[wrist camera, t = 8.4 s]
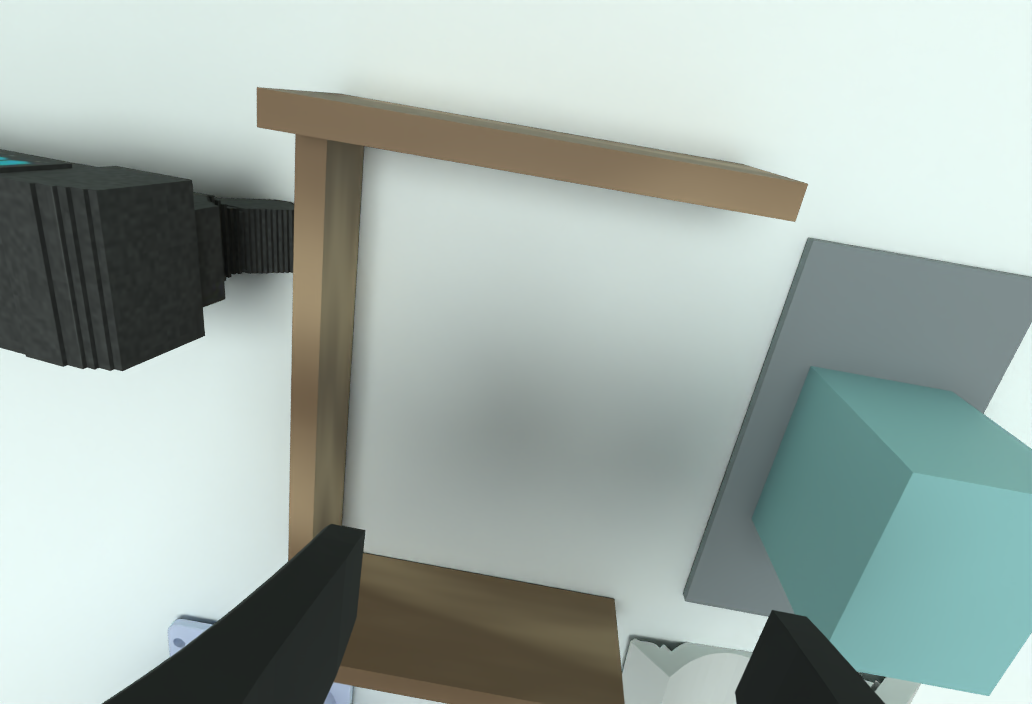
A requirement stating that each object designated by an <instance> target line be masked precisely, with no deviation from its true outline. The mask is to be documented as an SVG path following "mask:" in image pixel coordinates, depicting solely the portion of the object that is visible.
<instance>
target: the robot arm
mask: <svg viewBox="0 0 1032 704" xmlns="http://www.w3.org/2000/svg"><path fill="white" fill-rule="evenodd" d="M364 538H365V530H361V529H356V528H351V527H346V526H340V525H335V524H330V525H328V526H326V527H325V528H324V529H323V530H321V531H320V532H319V533H318V534H317V535H316V536H315V537H314V538H313V539H312V540H311V541H310V542H309V543H308V544H307V545H306V546H305V547H304V548H303V549H301V550H300V551H299V552H298V553H297V554H296V555H295V556H294V557H293V558H292V559H291V560H290V561H288V562H287V563H286V564H285V565H284V566H283V567H282V568H281V569H279V570H278V571H277V572H276V573H275V574H274V575H273V576H272V577H270V578H269V579H268V580H267V581H266V582H265V583H263V584H262V585H261V586H260V587H259V588H257V589H256V590H255V591H254V592H253V593H252V594H250V595H249V596H248V597H247V598H246V599H244V600H243V601H242V602H241V603H240V604H239V605H237V606H236V607H235V608H234V609H232V610H231V611H230V612H229V613H228V614H226V615H225V616H224V617H222V618H221V619H220V620H219V621H217V622H216V623H215V624H213V625H212V624H207V623H202V622H196V621H191V620H185V619H177V620H175V621H174V622H173V623H172V624H171V625H170V627H169V628H168V640H169V652H170V658H168V659H167V660H165V661H164V662H163V663H161V664H160V665H159V666H157V667H156V668H154V669H153V670H151V671H150V672H148V673H147V674H146V675H144V676H143V677H141V678H140V679H138V680H137V681H135V682H134V683H132V684H131V685H129V686H128V687H126V688H125V689H123V690H122V691H120V692H119V693H117V694H116V695H114V696H113V697H111V698H110V699H108V700H107V701H105V702H104V703H102V704H352V692H353V686H351V685H345V684H340V683H335V682H334V680H335V678H336V675H337V673H338V670H339V667H340V664H341V661H342V659H343V656H344V653H345V650H346V647H347V644H348V641H349V638H350V636H351V633H352V630H353V627H354V624H355V621H356V618H357V608H358V598H359V588H360V578H361V568H362V558H363V548H364ZM735 696H736V703H737V704H885V703H884V702H883V701H882V699H881V698H880V697H879V696H878V695H877V694H876V693H875V692H874V690H873V689H872V688H871V687H870V686H869V685H868V684H867V683H866V681H865V680H864V679H863V678H862V677H861V676H860V675H859V674H858V672H857V671H856V670H855V669H854V668H853V667H852V666H851V664H850V663H849V662H848V661H847V660H846V659H845V658H844V657H843V655H842V654H841V653H840V652H839V651H838V650H837V649H836V648H835V646H834V645H833V644H832V643H831V642H830V641H829V640H828V639H827V638H826V636H825V635H824V634H823V633H822V632H821V631H820V630H819V629H818V628H817V627H816V626H815V625H814V624H813V623H812V622H811V620H810V619H809V618H808V617H806V616H801V615H796V614H791V613H786V612H781V611H776V610H772V611H771V613H770V615H769V618H768V620H767V622H766V624H765V626H764V629H763V631H762V633H761V635H760V637H759V640H758V642H757V644H756V646H755V649H754V651H753V653H752V655H751V657H750V660H749V662H748V664H747V666H746V668H745V671H744V673H743V675H742V677H741V679H740V682H739V684H738V686H737V688H736V690H735Z"/></svg>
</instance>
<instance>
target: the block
mask: <svg viewBox="0 0 1032 704" xmlns="http://www.w3.org/2000/svg"><path fill="white" fill-rule="evenodd" d="M752 521H753V523H754V525H755V528H756V530H757V532H758V534H759V536H760V538H761V541H762V543H763V545H764V547H765V549H766V552H767V554H768V556H769V558H770V560H771V563H772V565H773V567H774V569H775V571H776V574H777V576H778V578H779V580H780V582H781V585H782V587H783V589H784V591H785V593H786V596H787V598H788V600H789V602H790V604H791V607H792V609H793V611H794V613H795V614H796V615H801V616H806V617H808V618H809V619H810V620H811V622H812V623H813V624H814V625H815V626H816V627H817V628H818V629H819V630H820V631H821V632H822V633H823V634H824V635H825V636H826V638H827V639H828V640H829V641H830V642H831V643H832V644H833V645H834V646H835V648H836V649H837V650H838V651H839V652H840V653H841V654H842V655H843V657H844V658H845V659H846V660H847V661H848V662H849V663H850V664H851V666H852V667H853V668H854V669H855V670H856V671H857V672H862V673H868V674H873V675H879V676H884V677H889V678H895V679H900V680H906V681H911V682H916V683H922V684H927V685H932V686H938V687H943V688H949V689H954V690H959V691H965V692H970V693H975V694H981V695H986V696H989V695H990V694H991V692H992V691H993V689H994V688H995V686H996V685H997V683H998V682H999V680H1000V679H1001V677H1002V676H1003V674H1004V673H1005V671H1006V670H1007V668H1008V667H1009V665H1010V664H1011V662H1012V661H1013V659H1014V658H1015V656H1016V655H1017V653H1018V652H1019V650H1020V649H1021V648H1022V646H1023V645H1024V643H1025V642H1026V640H1027V639H1028V637H1029V636H1030V634H1031V633H1032V449H1031V448H1029V447H1028V446H1027V445H1025V444H1024V443H1023V442H1021V441H1020V440H1018V439H1017V438H1016V437H1014V436H1013V435H1012V434H1010V433H1009V432H1007V431H1006V430H1005V429H1003V428H1002V427H1001V426H999V425H998V424H996V423H995V422H994V421H992V420H991V419H989V418H988V417H987V416H985V415H984V414H983V413H981V412H980V411H978V410H977V409H976V408H974V407H973V406H972V405H970V404H969V403H967V402H966V401H965V400H963V399H962V398H961V397H959V396H958V395H956V394H955V393H954V392H952V391H947V390H941V389H936V388H930V387H925V386H919V385H914V384H908V383H903V382H897V381H892V380H886V379H880V378H875V377H869V376H864V375H858V374H853V373H847V372H842V371H836V370H831V369H825V368H820V367H814V366H811V367H810V369H809V372H808V374H807V377H806V379H805V382H804V385H803V387H802V390H801V392H800V395H799V398H798V400H797V403H796V405H795V408H794V410H793V413H792V416H791V418H790V421H789V423H788V426H787V428H786V431H785V434H784V436H783V439H782V441H781V444H780V447H779V449H778V452H777V454H776V457H775V459H774V462H773V465H772V467H771V470H770V472H769V475H768V477H767V480H766V483H765V485H764V488H763V490H762V493H761V496H760V498H759V501H758V503H757V506H756V508H755V511H754V514H753V516H752Z"/></svg>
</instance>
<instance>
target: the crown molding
mask: <svg viewBox="0 0 1032 704" xmlns="http://www.w3.org/2000/svg"><path fill="white" fill-rule="evenodd" d="M752 653H753V652H749V651H742V650H735V649H729V648H722V647H715V646H709V645H702V644H695V643H689V642H686V643H684V644H681V645H679V646H678V647H677V648H675V649H674V650H673V651H671V650H669V649H668V648H667V647H666V646H665V645H664V644H663V645H662V646H661V647H660V648H659V647H658V646H657V645H656V644H654V643H651V642H645V641H639V640H637V639H636V638H635V639H633V640H632V641H630V645H629V649H628V653H627V657H626V661H625V665H624V669H623V672H622V681H623V691H624V701H625V704H737V703H736V696H735V690H736V688H737V686H738V684H739V682H740V679H741V677H742V675H743V673H744V671H745V668H746V666H747V664H748V662H749V660H750V657H751V655H752ZM865 681H866V680H865ZM866 683H867V684H868V685H869V686H870V687H871V688H872V689H873V690H874V692H875V693H876V694H877V695H878V696H879V697H880V698H881V699H882V701H883V702H884V703H885V704H910V703H911V702H912V700H913V698H914V696H915V694H916V692H917V690H918V688H919V686H920V685H921V683H916V682H911V681H906V680H900V679H895V678H889V677H886V678H885V679H884V680H883V682H882V683H881V684H880V683H879V682H878V681H875V682H874V683H873V682H870V681H866Z"/></svg>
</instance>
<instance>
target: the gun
mask: <svg viewBox="0 0 1032 704" xmlns="http://www.w3.org/2000/svg"><path fill="white" fill-rule="evenodd" d="M293 257H294V205H293V203H291V202H287V201H280V200H270V199H269V200H266V199H263V200H262V199H239V198H237V199H234V198H214V196H211V195H206V194H201V193H196V192H193V184H192V180H189V179H183V178H178V177H172V176H167V175H162V174H156V173H151V172H145V171H140V170H135V169H129V168H124V167H118V166H110V167H93V166H88V165H83V164H76V163H70V162H65V161H60V160H54V159H49V158H44V157H38V156H33V155H28V154H22V153H17V152H12V151H6V150H1V149H0V348H3V349H7V350H11V351H14V352H18V353H22V354H25V355H26V357H30V358H33V359H37V360H41V361H44V362H48V363H52V364H55V365H59V366H63V367H64V366H66V365H70V366H73V367H77V368H81V369H84V368H87V367H88V368H91V369H97V368H102V369H106V370H109V371H111V370H114V369H116V370H120V371H124V370H126V369H128V368H131V367H133V366H135V365H138V364H140V363H142V362H145V361H147V360H149V359H152V358H154V357H156V356H159V355H161V354H163V353H166V352H168V351H170V350H173V349H175V348H177V347H180V346H182V345H184V344H187V343H189V342H191V341H194V340H196V339H198V338H201V337H203V336H205V330H204V318H203V307H205V306H208V305H210V304H213V303H216V302H219V301H221V300H224V299H225V288H224V281H226V277H228V278H229V277H231V274H236V273H238V274H241V273H242V272H245V273H250V274H251V273H274V272H275V273H279V272H281V273H284V272H286V273H289V272H292V273H293Z"/></svg>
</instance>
